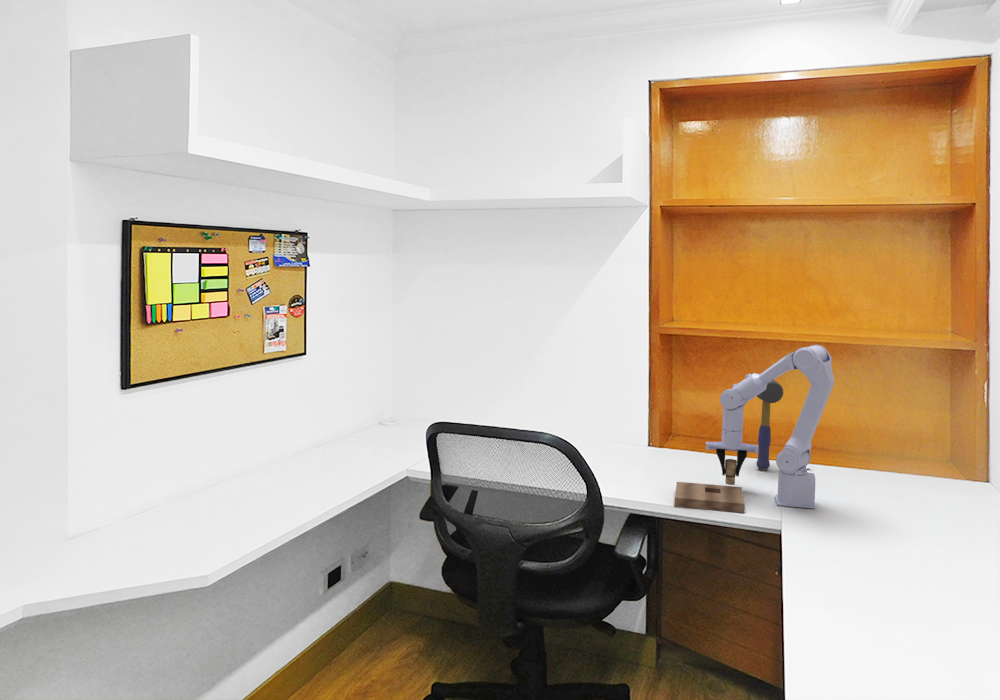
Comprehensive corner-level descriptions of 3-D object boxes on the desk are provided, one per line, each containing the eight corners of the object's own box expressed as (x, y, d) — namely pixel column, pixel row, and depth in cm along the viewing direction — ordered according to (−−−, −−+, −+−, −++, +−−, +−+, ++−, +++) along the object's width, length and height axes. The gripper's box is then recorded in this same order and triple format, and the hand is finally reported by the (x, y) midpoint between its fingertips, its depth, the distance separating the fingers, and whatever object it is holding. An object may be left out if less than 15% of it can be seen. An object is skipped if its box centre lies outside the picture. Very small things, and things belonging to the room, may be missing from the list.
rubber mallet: (780, 475, 225) (786, 381, 221) (756, 475, 226) (761, 380, 222) (768, 464, 237) (773, 374, 234) (745, 464, 238) (750, 374, 234)
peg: (735, 482, 212) (736, 459, 211) (736, 485, 209) (737, 462, 208) (724, 481, 213) (725, 458, 212) (724, 484, 210) (725, 461, 209)
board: (741, 495, 205) (741, 487, 205) (744, 512, 191) (744, 503, 191) (676, 489, 210) (676, 481, 210) (674, 506, 196) (674, 497, 196)
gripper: (757, 428, 211) (755, 473, 213) (706, 424, 215) (704, 469, 217) (759, 433, 204) (757, 479, 206) (706, 430, 208) (704, 475, 210)
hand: (730, 474), depth 211 cm, fingers closed on peg, 3 cm apart
